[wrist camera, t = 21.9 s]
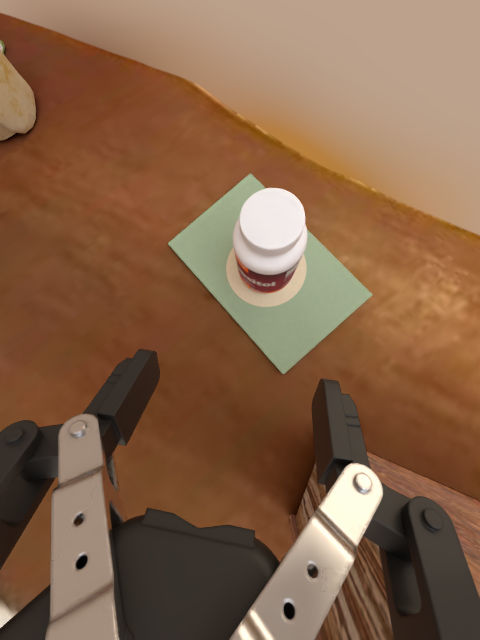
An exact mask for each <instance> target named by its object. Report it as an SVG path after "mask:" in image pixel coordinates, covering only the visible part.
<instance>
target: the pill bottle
mask: <svg viewBox="0 0 480 640" xmlns="http://www.w3.org/2000/svg"><path fill="white" fill-rule="evenodd" d="M306 245H307V228H306V225H305V212H304V208H303V206H302V204H301V202H300V201H299V200H298V198H297V197H296V196H294V195H293V194H292V193H290V192H288V191H286V190H283V189H279V188H267V189H263V190H260V191H258V192H256V193H254V194H253V195H251V196H250V197H249V198H248V199H247V200H246V202H245V203H244V205H243V206H242V209H241V212H240V217H239V218H238V220H237V222H236V224H235V227H234V230H233V247H234V252H235V257H236V262H237V267H238V272H239V275H240V278H241V280H242V281H243V283H244V284H245V285H246V286H247V287H248V288H249V289H251V290H253V291H255V292H257V293H262V294H270V293H275V292H277V291H279V290H281V289H283V288H284V287H285V286H286V285H287V284H288V283H289V282H290V280H291V278H292V276H293V274H294V272H295V270H296V268H297V266H298V264H299V262H300V260H301V258H302V256H303V253H304V251H305V248H306Z"/></svg>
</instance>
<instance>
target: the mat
mask: <svg viewBox="0 0 480 640" xmlns="http://www.w3.org/2000/svg"><path fill="white" fill-rule="evenodd" d="M263 189H266V188H265V187H264V186H263V185H262V184H261V183H260V182H259V181H258V180H257V179H256V178H255V177H254V176H253V175H252V174H251V173H250V174H249V175H248V176H247V177H245V178H244V179H243V180H242V181H241V182H239V183H238V184H237V185H236V186H235V187H234V188H232V189H231V190H230V191H229V192H228V193H226V194H225V195H224V196H223V197H222V198H221V199H219V200H218V201H217V202H216V203H215V204H213V205H212V206H211V207H210V208H209V209H208V210H206V211H205V212H204V213H203V214H202V215H201V216H199V217H198V218H197V219H196V220H195V221H193V222H192V223H191V224H190V225H189V226H188V227H186V228H185V229H184V230H183V231H182V232H180V233H179V234H178V235H177V236H176V237H175V238H173V239H172V240H171V241H170V242H169V243H168V245H169V246H170V247H171V248H172V249H173V251H174V252H175V253H176V254H177V255H178V256H179V257H180V259H181V260H182V261H183V262H184V263H185V264H186V265H187V266H188V268H189V269H190V270H191V271H192V272H193V273H194V274H195V276H196V277H197V278H198V279H199V280H200V281H201V282H202V283H203V285H204V286H205V287H206V288H207V289H208V290H209V291H210V293H211V294H212V295H213V296H214V297H215V298H216V299H217V300H218V302H219V303H220V304H221V305H222V306H223V307H224V308H225V310H226V311H227V312H228V313H229V314H230V315H231V316H232V317H233V319H234V320H235V321H236V322H237V323H238V324H239V325H240V327H241V328H242V329H243V330H244V331H245V332H246V333H247V334H248V336H249V337H250V338H251V339H252V340H253V341H254V342H255V344H256V345H257V346H258V347H259V348H260V349H261V350H262V351H263V353H264V354H265V355H266V356H267V357H268V358H269V359H270V361H271V362H272V363H273V364H274V365H275V366H276V367H277V369H278V370H279V371H280V372H281V373H282V374H285V373H286V372H287V371H288V370H289V369H290V368H291V367H293V366H294V365H295V364H296V363H297V362H298V361H299V360H300V359H302V358H303V357H304V356H305V355H306V354H307V353H308V352H309V351H310V350H312V349H313V348H314V347H315V346H316V345H317V344H318V343H319V342H321V341H322V340H323V339H324V338H325V337H326V336H327V335H328V334H329V333H331V332H332V331H333V330H334V329H335V328H336V327H337V326H338V325H340V324H341V323H342V322H343V321H344V320H345V319H346V318H347V317H348V316H350V315H351V314H352V313H353V312H354V311H355V310H356V309H357V308H359V307H360V306H361V305H362V304H363V303H364V302H365V301H366V300H367V299H369V298H370V297H371V296H372V294H371V293H370V292H369V291H368V290H367V289H366V288H365V287H364V286H363V285H362V284H361V283H360V282H359V281H358V280H357V279H356V278H355V277H354V276H353V275H352V274H351V273H350V272H349V271H348V270H347V269H346V268H345V267H344V266H343V265H342V264H341V263H340V262H339V261H338V260H337V259H336V258H335V257H334V256H333V255H332V254H331V253H330V252H329V251H328V250H327V249H326V248H325V247H324V246H323V245H322V244H321V243H320V242H319V241H318V240H317V239H316V238H315V237H314V236H313V235H312V234H311V233H310V232H309V231H308V230H307V245H306V248H305V251H304V253H303V256H302V258H301V260H300V262H299V264H298V266H297V268H296V270H295V272H294V274H293V276H292V278H291V280H290V282H289V283H288V284H287V285H286V286H285V287H284V288H283V289H281V290H279V291H277V292H275V293H270V294H262V293H257V292H255V291H253V290H251V289H249V288H248V287H247V286H246V285H245V284H244V283H243V281H242V280H241V278H240V275H239V272H238V267H237V262H236V257H235V252H234V247H233V230H234V227H235V224H236V222H237V220H238V218H239V217H240V212H241V209H242V206H243V205H244V203H245V202H246V200H247V199H248V198H249V197H250V196H251V195H253V194H254V193H256V192H258V191H260V190H263Z"/></svg>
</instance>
